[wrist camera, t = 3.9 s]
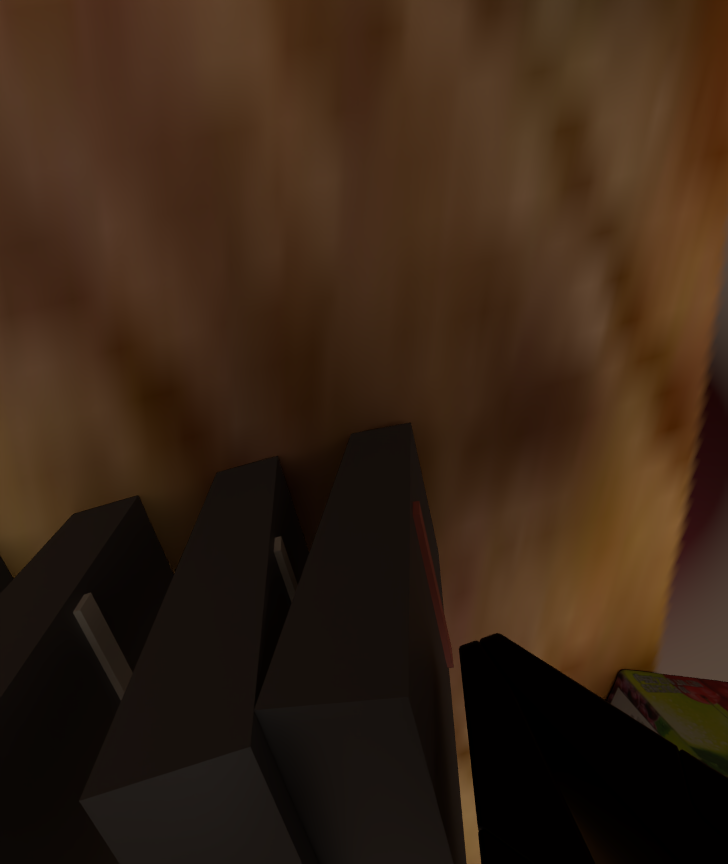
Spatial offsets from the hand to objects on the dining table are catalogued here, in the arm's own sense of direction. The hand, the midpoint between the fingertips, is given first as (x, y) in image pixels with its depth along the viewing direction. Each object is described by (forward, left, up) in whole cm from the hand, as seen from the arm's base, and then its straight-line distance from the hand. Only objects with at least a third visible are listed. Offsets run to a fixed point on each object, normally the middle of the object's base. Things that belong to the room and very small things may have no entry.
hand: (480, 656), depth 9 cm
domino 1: (0, 0, -7) cm, 7 cm away
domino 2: (+4, 0, -8) cm, 9 cm away
